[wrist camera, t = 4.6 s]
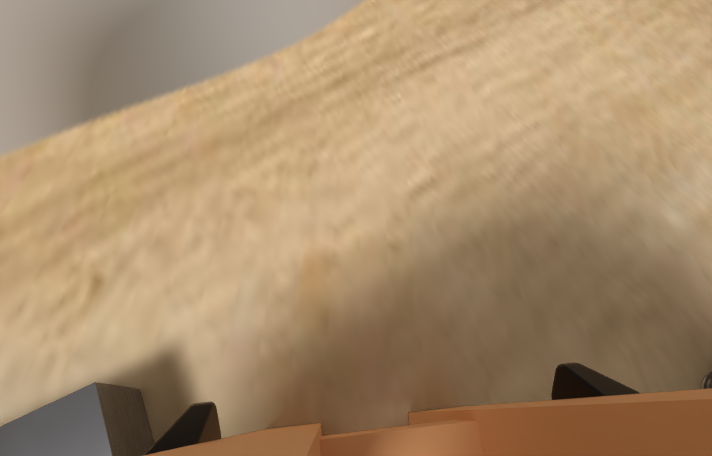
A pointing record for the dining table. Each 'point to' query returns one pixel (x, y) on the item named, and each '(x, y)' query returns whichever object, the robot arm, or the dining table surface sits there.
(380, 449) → the orange letter h block
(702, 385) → the lighter
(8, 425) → the grey slotted base block
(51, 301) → the dining table surface
